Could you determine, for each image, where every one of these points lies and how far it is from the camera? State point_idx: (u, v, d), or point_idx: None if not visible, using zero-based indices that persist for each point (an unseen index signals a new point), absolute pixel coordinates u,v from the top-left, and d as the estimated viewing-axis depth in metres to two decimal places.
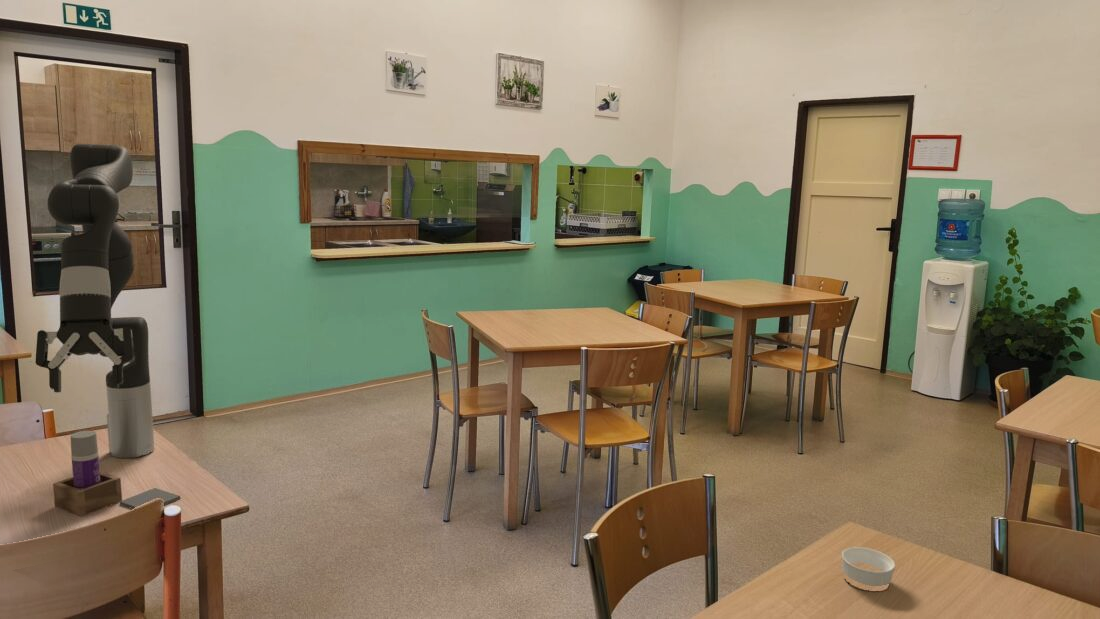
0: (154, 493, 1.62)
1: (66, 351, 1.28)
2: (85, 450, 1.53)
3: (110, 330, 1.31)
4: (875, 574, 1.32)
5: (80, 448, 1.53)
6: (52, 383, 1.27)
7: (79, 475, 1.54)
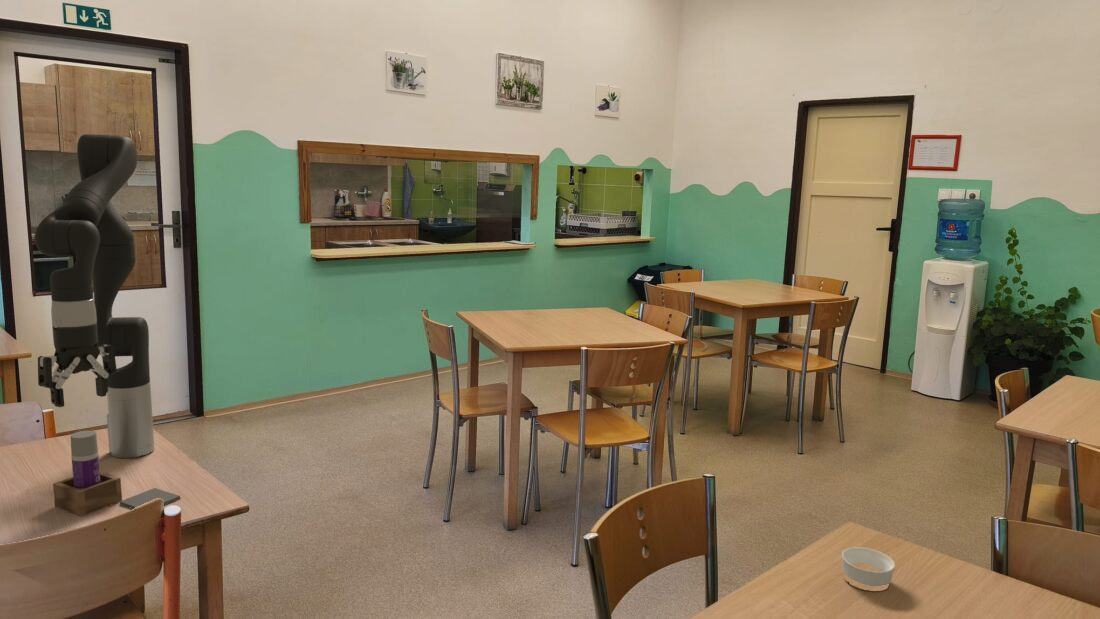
0: (154, 493, 1.62)
1: (70, 373, 1.49)
2: (85, 450, 1.53)
3: (98, 350, 1.55)
4: (875, 574, 1.32)
5: (80, 448, 1.53)
6: (57, 400, 1.49)
7: (79, 475, 1.54)
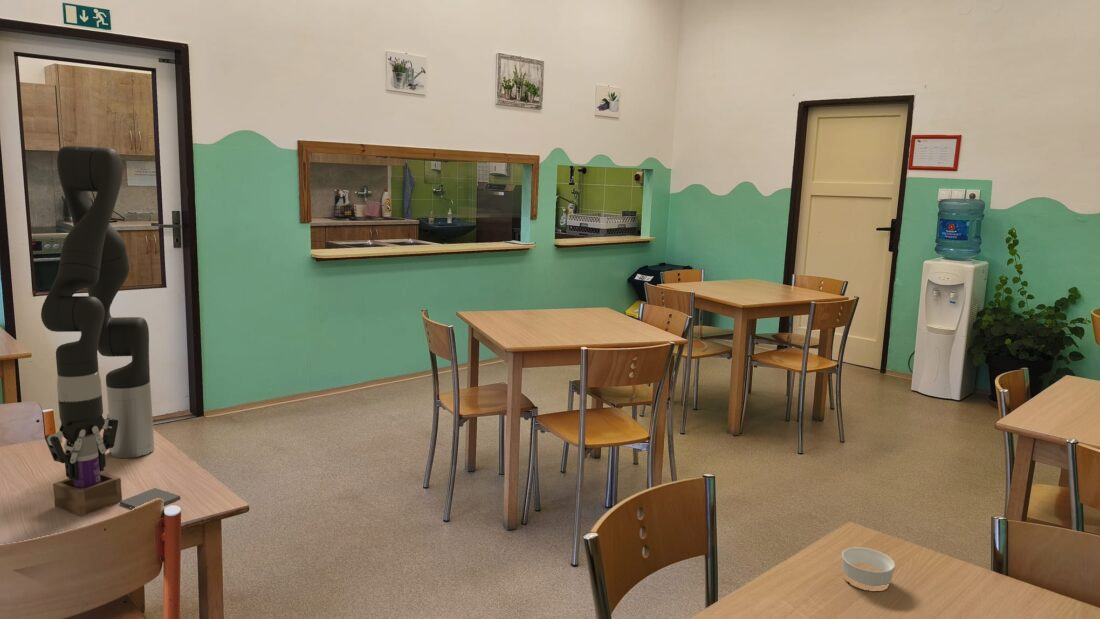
0: (154, 493, 1.62)
1: (80, 446, 1.53)
2: (85, 450, 1.53)
3: (104, 421, 1.57)
4: (875, 574, 1.32)
5: None
6: (72, 474, 1.53)
7: (79, 475, 1.54)
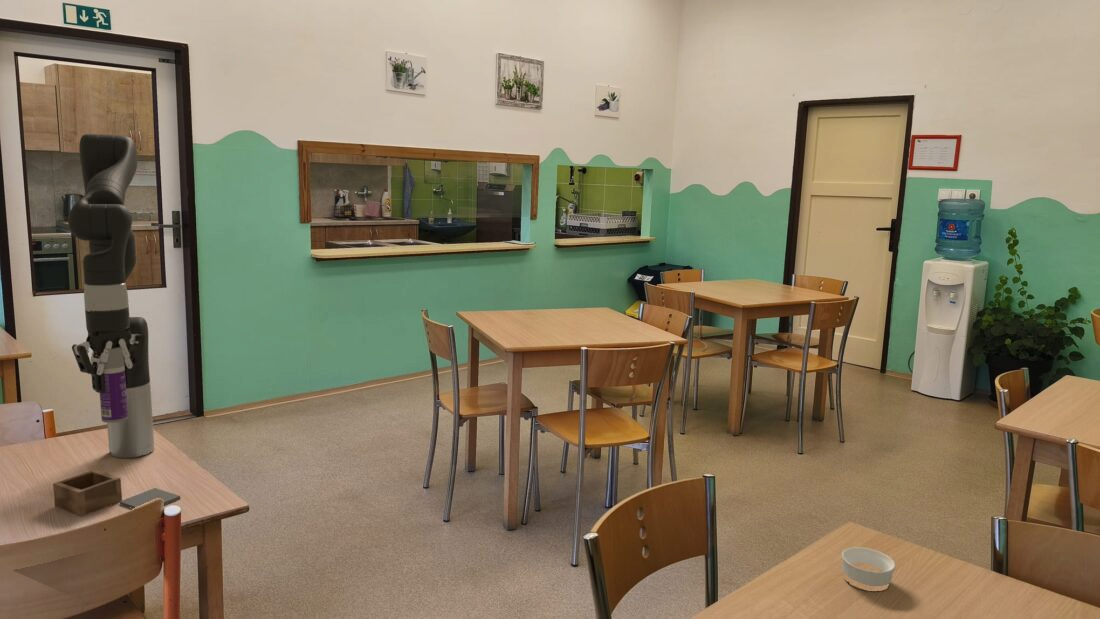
0: (154, 493, 1.62)
1: (106, 358, 1.50)
2: (112, 362, 1.51)
3: (130, 335, 1.55)
4: (875, 574, 1.32)
5: None
6: (98, 386, 1.51)
7: (106, 388, 1.51)
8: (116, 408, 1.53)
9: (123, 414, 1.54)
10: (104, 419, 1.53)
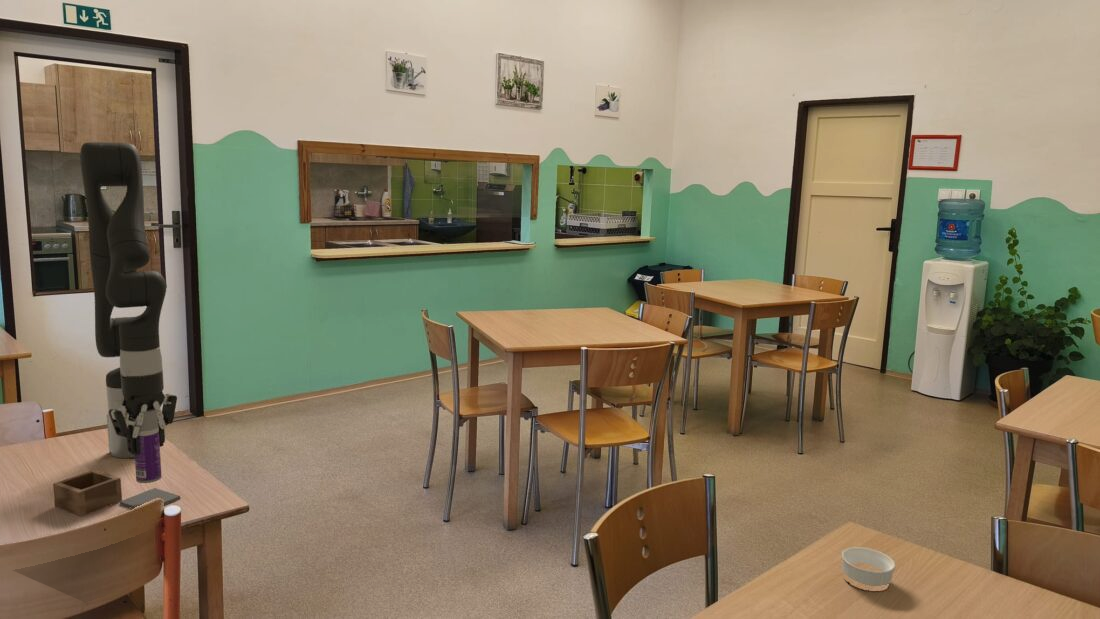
0: (154, 493, 1.62)
1: (142, 420, 1.54)
2: (147, 425, 1.54)
3: (164, 397, 1.58)
4: (875, 574, 1.32)
5: None
6: (134, 448, 1.54)
7: (141, 450, 1.55)
8: (151, 469, 1.56)
9: (157, 474, 1.58)
10: (139, 480, 1.56)
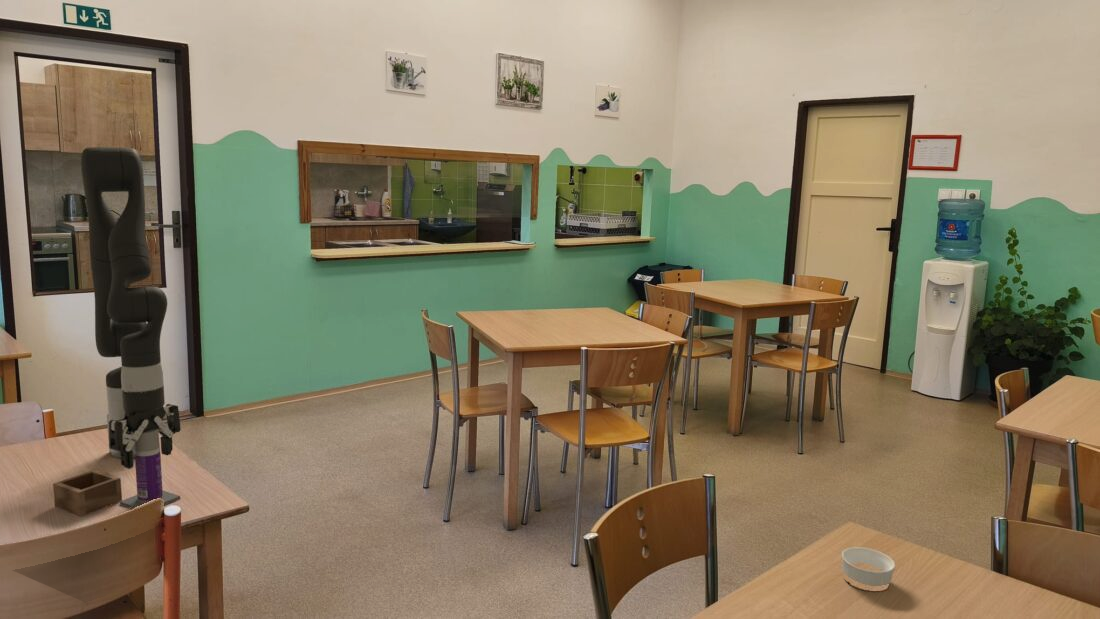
0: None
1: (139, 435, 1.54)
2: (148, 445, 1.55)
3: (164, 411, 1.59)
4: (875, 574, 1.32)
5: (143, 443, 1.55)
6: (127, 462, 1.53)
7: (142, 470, 1.56)
8: (152, 489, 1.57)
9: (159, 494, 1.58)
10: (140, 499, 1.57)
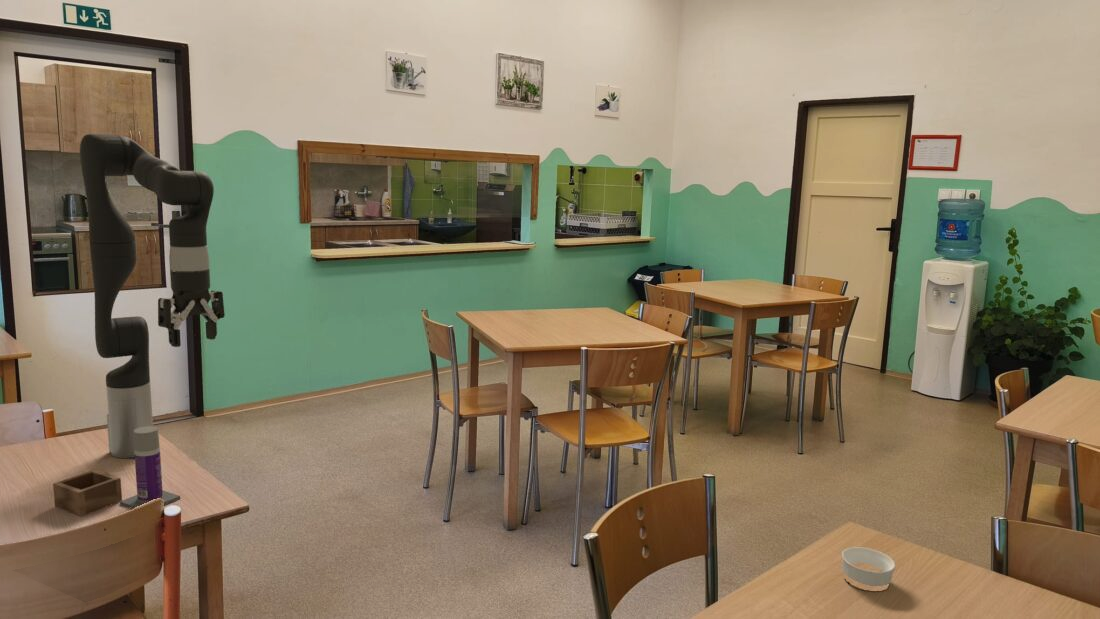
0: None
1: (186, 315, 1.59)
2: (148, 445, 1.55)
3: (210, 295, 1.64)
4: (875, 574, 1.32)
5: (143, 443, 1.55)
6: (175, 340, 1.58)
7: (142, 470, 1.56)
8: (152, 489, 1.57)
9: (159, 494, 1.58)
10: (140, 499, 1.57)
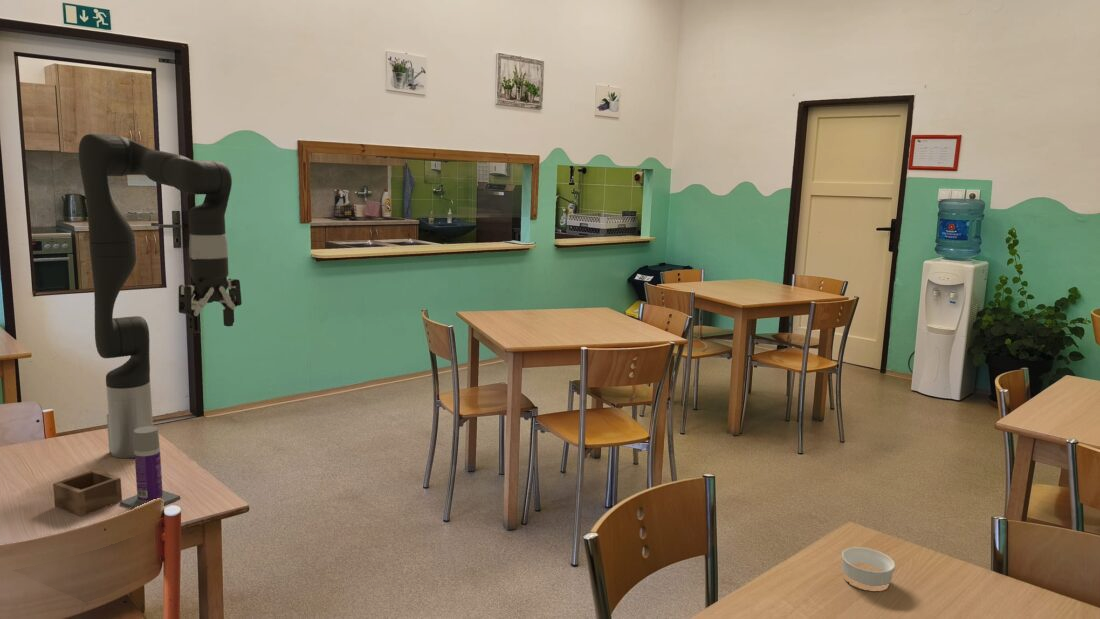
0: None
1: (205, 302, 1.62)
2: (148, 445, 1.55)
3: (228, 283, 1.68)
4: (875, 574, 1.32)
5: (143, 443, 1.55)
6: (195, 327, 1.62)
7: (142, 470, 1.56)
8: (152, 489, 1.57)
9: (159, 494, 1.58)
10: (140, 499, 1.57)
